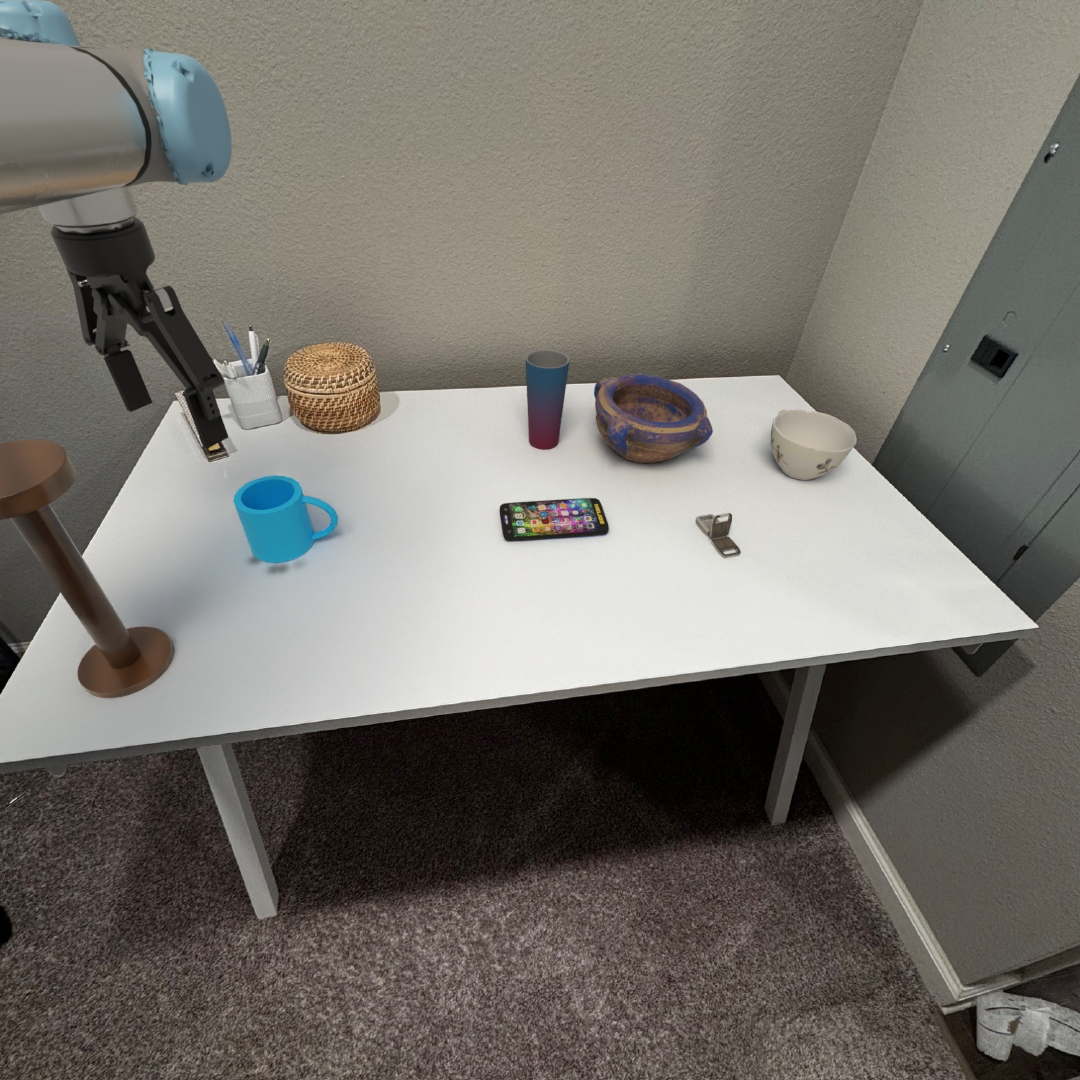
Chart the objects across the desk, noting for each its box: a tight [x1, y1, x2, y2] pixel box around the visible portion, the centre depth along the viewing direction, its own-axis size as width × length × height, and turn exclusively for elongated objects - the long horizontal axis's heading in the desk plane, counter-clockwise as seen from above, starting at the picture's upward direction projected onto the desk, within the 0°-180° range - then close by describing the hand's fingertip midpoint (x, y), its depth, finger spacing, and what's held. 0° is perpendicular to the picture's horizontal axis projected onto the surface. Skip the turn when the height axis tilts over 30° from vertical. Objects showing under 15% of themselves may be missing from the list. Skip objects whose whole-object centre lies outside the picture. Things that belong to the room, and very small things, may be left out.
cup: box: [524, 348, 571, 451], centre depth 101 cm, size 7×7×15 cm
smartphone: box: [499, 497, 610, 542], centre depth 89 cm, size 8×1×15 cm
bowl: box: [593, 373, 714, 464], centre depth 102 cm, size 18×18×10 cm
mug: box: [232, 475, 339, 564], centre depth 82 cm, size 12×8×8 cm
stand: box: [0, 439, 174, 699], centre depth 60 cm, size 9×9×26 cm
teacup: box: [770, 408, 858, 481], centre depth 100 cm, size 15×12×8 cm
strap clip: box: [695, 512, 742, 558], centre depth 87 cm, size 8×3×4 cm, turn 17°
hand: (176, 423), depth 71 cm, fingers open, 13 cm apart
